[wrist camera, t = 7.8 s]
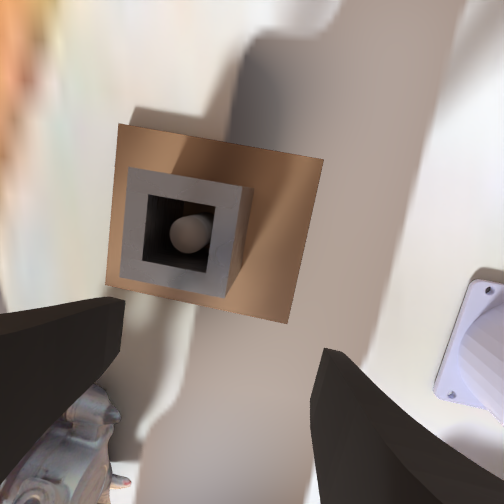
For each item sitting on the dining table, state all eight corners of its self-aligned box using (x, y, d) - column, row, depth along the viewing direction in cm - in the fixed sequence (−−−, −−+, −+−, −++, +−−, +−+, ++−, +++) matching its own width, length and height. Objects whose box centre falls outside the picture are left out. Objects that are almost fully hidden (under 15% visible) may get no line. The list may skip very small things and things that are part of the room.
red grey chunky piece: (-40, 351, 20) (-136, 542, 10) (133, 335, 26) (174, 447, 16) (-39, 486, 23) (-116, 743, 13) (119, 443, 29) (149, 598, 19)
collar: (254, 188, 18) (242, 186, 13) (240, 270, 19) (224, 298, 14) (171, 173, 18) (128, 166, 13) (162, 255, 19) (119, 277, 14)
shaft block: (321, 161, 18) (333, 151, 13) (287, 317, 20) (287, 353, 15) (127, 126, 19) (78, 106, 14) (113, 280, 21) (67, 304, 16)
